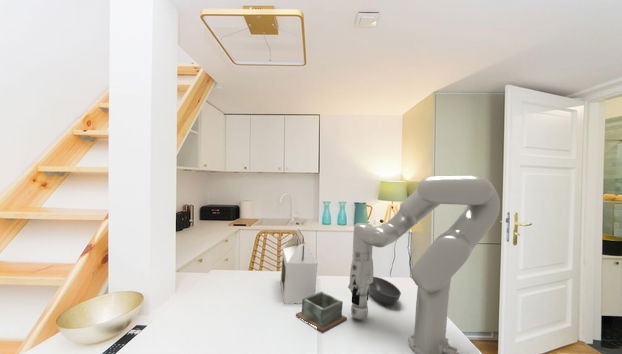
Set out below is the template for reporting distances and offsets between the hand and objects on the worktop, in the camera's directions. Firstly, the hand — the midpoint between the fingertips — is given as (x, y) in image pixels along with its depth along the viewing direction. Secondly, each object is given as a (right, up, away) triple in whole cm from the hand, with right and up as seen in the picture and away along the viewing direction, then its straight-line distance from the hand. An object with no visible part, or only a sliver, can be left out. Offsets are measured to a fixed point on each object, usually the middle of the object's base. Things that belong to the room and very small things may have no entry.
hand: (360, 301), depth 104 cm
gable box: (-26, -6, +20) cm, 33 cm away
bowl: (+14, -8, +20) cm, 25 cm away
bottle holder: (-15, -6, -1) cm, 16 cm away
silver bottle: (0, -7, 0) cm, 7 cm away
